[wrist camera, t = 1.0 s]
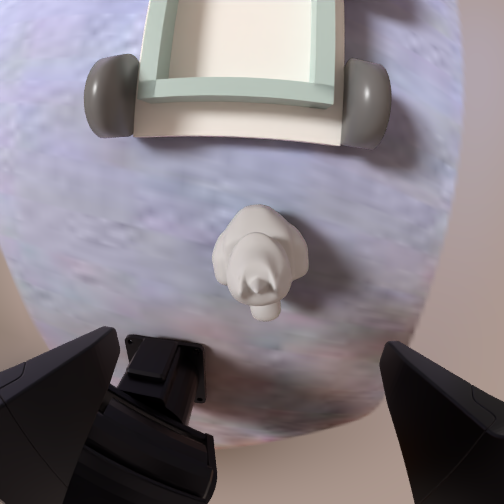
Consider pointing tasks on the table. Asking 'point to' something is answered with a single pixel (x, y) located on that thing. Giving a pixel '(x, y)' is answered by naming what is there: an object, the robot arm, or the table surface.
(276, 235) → the white figurine
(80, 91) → the table surface
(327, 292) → the table surface
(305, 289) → the table surface
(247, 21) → the toy chassis
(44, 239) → the table surface
